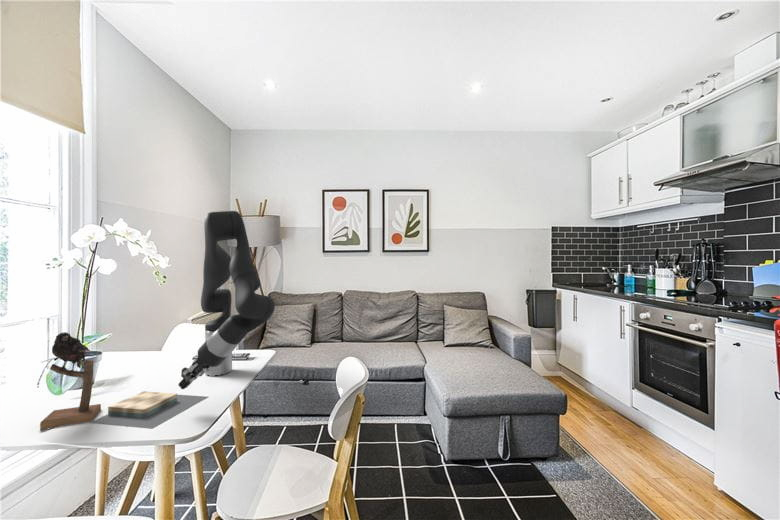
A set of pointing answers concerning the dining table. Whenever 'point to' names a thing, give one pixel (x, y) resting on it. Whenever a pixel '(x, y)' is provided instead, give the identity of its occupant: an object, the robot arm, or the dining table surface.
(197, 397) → the mat
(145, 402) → the board
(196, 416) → the dining table surface
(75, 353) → the bird figurine
